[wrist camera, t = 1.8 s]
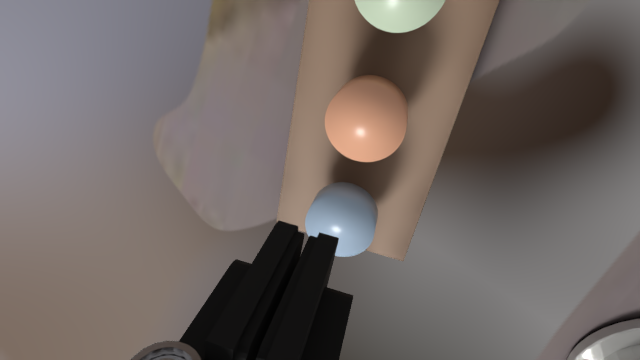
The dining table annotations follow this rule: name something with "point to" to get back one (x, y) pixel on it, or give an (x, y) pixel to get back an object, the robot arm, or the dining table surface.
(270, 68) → the dining table surface
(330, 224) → the slate blue button
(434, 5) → the sage green button
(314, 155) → the button panel
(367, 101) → the terracotta button
